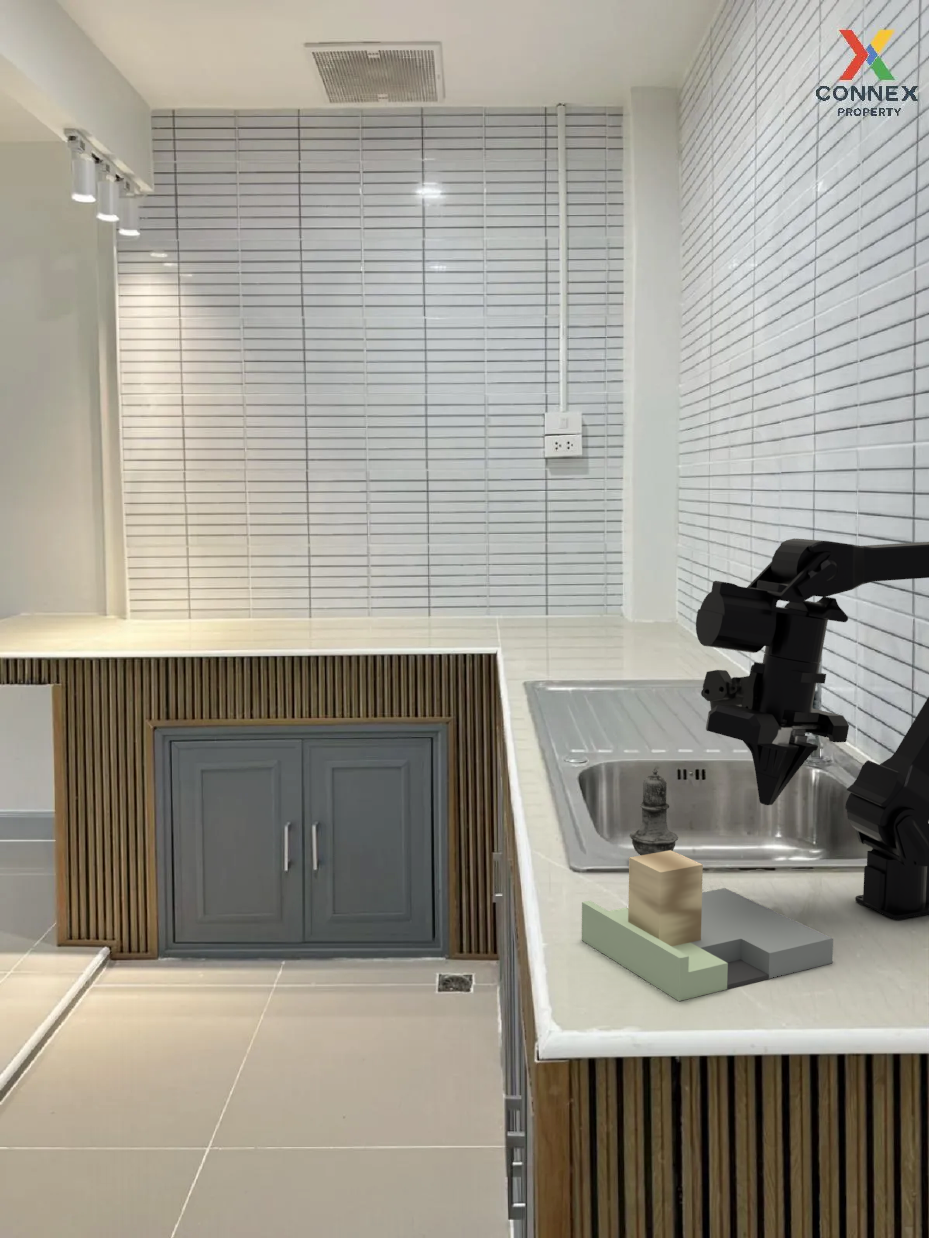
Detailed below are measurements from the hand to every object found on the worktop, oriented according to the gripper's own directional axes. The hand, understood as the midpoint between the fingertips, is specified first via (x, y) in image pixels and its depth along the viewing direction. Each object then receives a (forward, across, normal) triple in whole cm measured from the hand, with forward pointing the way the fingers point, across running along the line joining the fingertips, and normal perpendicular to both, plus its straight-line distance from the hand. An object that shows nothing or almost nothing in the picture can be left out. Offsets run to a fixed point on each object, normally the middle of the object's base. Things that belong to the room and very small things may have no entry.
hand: (765, 804), depth 123 cm
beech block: (+12, +14, 0) cm, 19 cm away
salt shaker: (+13, -8, -19) cm, 25 cm away
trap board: (+14, +10, +2) cm, 17 cm away
